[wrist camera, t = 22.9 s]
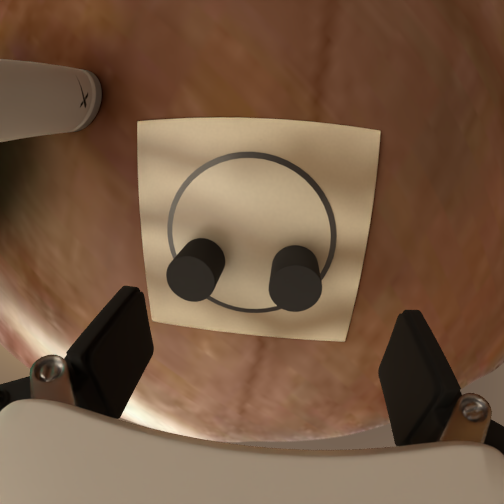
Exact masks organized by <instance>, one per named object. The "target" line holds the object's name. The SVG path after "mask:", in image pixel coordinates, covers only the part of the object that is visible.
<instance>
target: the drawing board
mask: <svg viewBox="0 0 504 504" xmlns="http://www.w3.org/2000/svg"><path fill="white" fill-rule="evenodd" d="M380 133H381V131H378V130H372V129H366V128H359V127H352V126H345V125H337V124H329V123H319V122H309V121H297V120H283V119H265V118H223V117H219V118H178V119H160V120H146V121H138V122H137V156H138V187H139V206H140V220H141V233H142V244H143V254H144V263H145V272H146V280H147V288H148V295H149V302H150V309H151V315H152V321H154V322H160V323H166V324H172V325H179V326H185V327H192V328H199V329H207V330H214V331H222V332H230V333H239V334H248V335H258V336H269V337H280V338H292V339H306V340H322V341H343V342H345V340H346V336H347V332H348V328H349V324H350V320H351V316H352V312H353V308H354V303H355V299H356V295H357V290H358V285H359V281H360V276H361V271H362V266H363V261H364V256H365V250H366V245H367V239H368V233H369V227H370V221H371V214H372V207H373V200H374V192H375V185H376V176H377V167H378V157H379V146H380ZM197 238H205V239H209V240H211V241H213V242H215V243H216V244H217V245H218V246H219V247H220V248H221V249H222V251H223V253H224V256H225V267H224V270H223V272H222V274H221V276H220V278H219V280H218V282H217V284H216V287H215V289H214V291H213V293H212V294H211V295H210V296H209V297H208V298H207V299H205V300H202V301H198V302H191V301H186V300H184V299H182V298H180V297H178V296H177V295H176V294H175V293H174V292H173V291H172V290H171V289H170V287H169V285H168V283H167V278H166V271H167V268H168V266H169V264H170V263H171V261H172V260H173V259H174V258H175V257H176V256H177V254H178V253H179V252H180V251H181V250H182V249H183V248H184V246H185V245H186V244H187V243H188V242H190V241H191V240H193V239H197ZM292 245H298V246H303V247H305V248H307V249H309V250H310V251H312V252H313V253H314V255H315V256H316V258H317V261H318V265H319V271H320V276H321V282H322V293H321V296H320V298H319V300H318V301H317V303H316V304H315V305H313V306H312V307H311V308H309V309H307V310H304V311H300V312H290V311H286V310H283V309H281V308H280V307H278V306H277V305H276V304H275V303H274V302H273V301H272V299H271V297H270V295H269V281H270V274H271V267H272V261H273V259H274V257H275V255H276V254H277V253H278V252H279V251H280V250H281V249H283V248H285V247H288V246H292Z"/></svg>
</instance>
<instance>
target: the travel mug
mask: <svg viewBox="0 0 504 504" xmlns="http://www.w3.org/2000/svg"><path fill="white" fill-rule="evenodd" d="M101 97H102V91H101V85H100V82H99V80H98V78H97V77H96V76H95V74H93V73H92V72H90V71H87V70H82V69H77V68H71V67H65V66H59V65H52V64H45V63H37V62H28V61H18V60H5V59H0V142H5V141H10V140H16V139H22V138H28V137H35V136H42V135H49V134H57V133H66V132H76V131H80V130H82V129H84V128H85V127H87V126H88V125H89V124H90V123H91V122H92V120H93V119H94V118H95V116H96V114H97V112H98V110H99V107H100V104H101Z"/></svg>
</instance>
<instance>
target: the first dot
mask: <svg viewBox="0 0 504 504" xmlns="http://www.w3.org/2000/svg"><path fill="white" fill-rule="evenodd" d="M224 267H225V256H224V253H223V251H222V249H221V248H220V247H219V246H218V245H217V244H216V243H215V242H213V241H211V240H209V239H205V238H197V239H193V240H191V241H190V242H188V243H187V244H186V245H185V246H184V248H183V249H182V250H181V251H180V252H179V253H178V254H177V256H176V257H175V258H174V259H173V260H172V261H171V263H170V264H169V266H168V268H167V271H166V278H167V283H168V285H169V287H170V289H171V290H172V291H173V292H174V293H175V294H176V295H177V296H178V297H180V298H182V299H184V300H186V301H191V302H198V301H202V300H205V299H207V298H208V297H209V296H210V295H211V294H212V293H213V291H214V289H215V287H216V284H217V282H218V280H219V278H220V276H221V274H222V272H223V270H224Z"/></svg>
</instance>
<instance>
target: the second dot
mask: <svg viewBox="0 0 504 504" xmlns="http://www.w3.org/2000/svg"><path fill="white" fill-rule="evenodd" d="M321 293H322V282H321V276H320V271H319V265H318V261H317V258H316V256H315V255H314V253H313V252H312V251H310V250H309V249H307V248H305V247H303V246H298V245H292V246H288V247H285V248H283V249H281V250H280V251H279V252H278V253H277V254H276V255H275V257H274V259H273V261H272V267H271V274H270V281H269V295H270V297H271V299H272V301H273V302H274V303H275V304H276V305H277V306H278V307H280V308H281V309H283V310H286V311H290V312H300V311H304V310H307V309H309V308H311V307H312V306H313V305H315V304H316V303H317V301H318V300H319V298H320V296H321Z"/></svg>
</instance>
